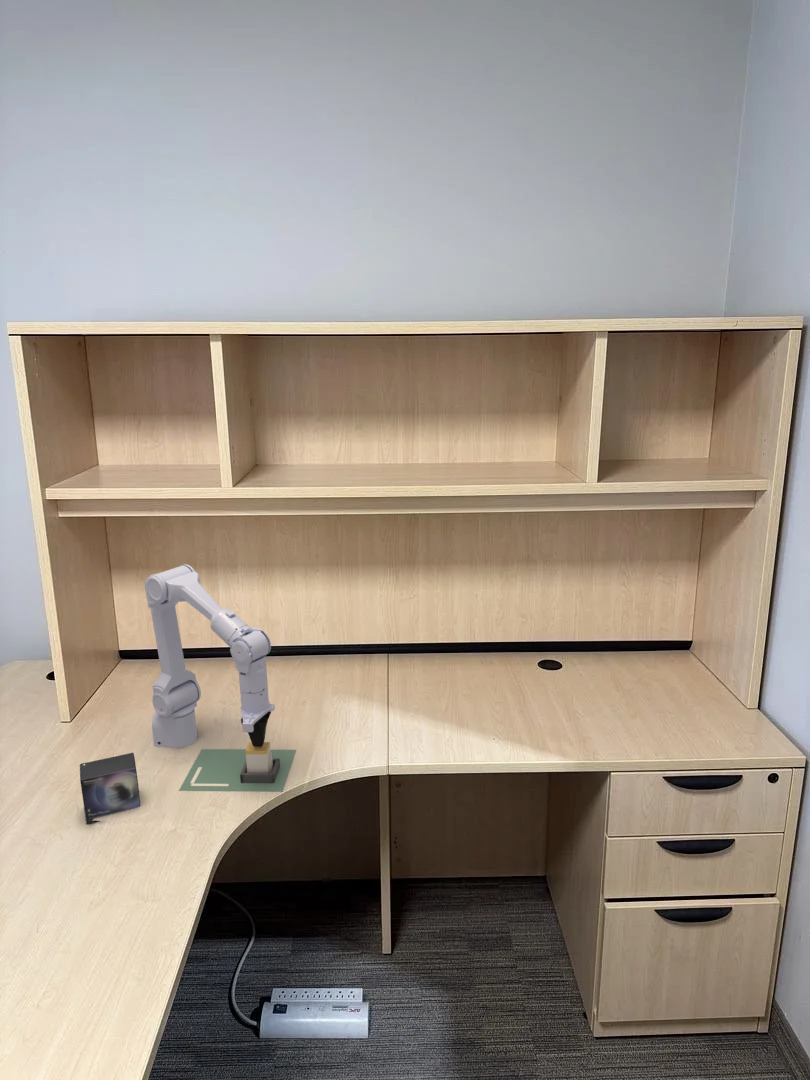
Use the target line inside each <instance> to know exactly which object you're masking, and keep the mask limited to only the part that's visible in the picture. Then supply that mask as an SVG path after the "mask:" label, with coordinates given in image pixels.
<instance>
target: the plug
mask: <svg viewBox="0 0 810 1080" xmlns="http://www.w3.org/2000/svg"><path fill="white" fill-rule="evenodd" d="M270 750H271V742H270V741H268V742H267V741H264V744H263V746H262V747H254V746H253V745H252V742H251V741H249V742H248V744H247V747H246V763H247V773H272V770H273V761H272V752H271V751H270Z"/></svg>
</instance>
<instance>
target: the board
mask: <svg viewBox="0 0 810 1080" xmlns="http://www.w3.org/2000/svg"><path fill="white" fill-rule="evenodd" d="M246 749H247V748H246ZM246 749H244V748H240V749H239V748H238V749H237V748H231V749H229V748H201V749H200V751H199V753H198V755H197V757H196V759H195V760H194V762H193V763H192V766H191V768H190V769H189V771H188V773H187V775H186V777H185V778H184V780H183V783H182V784H181V785H180V788H179V789H178V792H257V793H258V792H260V793H262V792H264V793H265V792H266V793H267V792H269V793H274V792H275V793H282V792H283V791H284V789H285V785H286V783H287V779H288V777H289V773H290V771H291V768H292V764H293V761H294V758H295V755H296V752H297V749H270V751H271V752H272V761H273V770H272V773H247V763H246Z"/></svg>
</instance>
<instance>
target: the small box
mask: <svg viewBox="0 0 810 1080" xmlns="http://www.w3.org/2000/svg"><path fill="white" fill-rule="evenodd" d="M137 772H138V771H137V765H136V758H135V754H134V752H130V753H125V754H121V755H116V756H111V757H106V758H103V759H98V760H93V761H88V762H82V763H80V764H79V782H80V787H81V795H82V801H83V808H84V810H83V811H84V815H85V823H86V825H89V824H93V823H97V822H99V820H94V819H97V818H100V817H104V816H109V815H113V814H117V813H121V812H122V813H123V812H126V811H130V810H133V809H137V808H140V807H141V799H140V797H141V796H140V790H139V789H140V788H139V780H138V774H137Z"/></svg>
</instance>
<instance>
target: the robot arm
mask: <svg viewBox="0 0 810 1080" xmlns="http://www.w3.org/2000/svg"><path fill="white" fill-rule="evenodd" d="M143 584H144V585H143V586H144V589H145V596H146V602H147V606H148V608H149V609H150V612H151V613H150V614H151V620H152V627H153V630H154V637H155V643H156V647H157V649H156V650H157V654H158V659H159V665H160V675H159V676H158V677H157V678H156V680H155V682H154V683H153V684H152V690H153V691H152V692H153V694H152V705H153V709H154V713H153V715H152V720H151V721H152V722H151V729H152V738H153V739H152V740H153V746H154V747H158V748H160V747H163V748H164V747H165V748H166V747H167V748H172V749H180V748H186V747H189V746H191V745H193V744H195V743H196V742H197V740H198V729H197V721H196V719H197V718H196V709H195V708H197V706H198V704H197V702H199V700H200V699H201V697H202V695H201V694H202V692H201V691H202V690H201V686H200V685H199V683H198V681H197V677H196V674H195V673H194V672H193V671H191V670H188V669H186V664H185V658H184V651H183V647H182V646H183V645H182V640H181V634H180V627H179V622H178V617H177V616H178V615H177V611H176V610H177V609H176V605H177V604H179V603H180V602H181V603H182V602H186V603H187V604H189V605H190V606H192V607H193V609H195V610H196V611H198V612H199V613H200V614H201V615H203V616H204V617H205V618H206V619H208V620H209V621H210V629H211V631H213V632H214V633H215V634H216V635H217V637H219V638H220V639H221V640H222V641H223V642H224V643H225V644H226V645H227V646H228V647H229V648H230V649H229V651H230V655H231V657H232V659H233V660H234V663H235V668H236V671H238V681H239V694H240V705H241V706H240V712H241V719H240V723H241V725H242V732H243V733H248V736H249V739H250V742H252V745H253V746H254V747H262V746H263V744H264V742H265V738H266V731H267V725H268V721H269V719H270V716H271V713H272V712H273V711H275V708H276V704H274V703H270V699H269V685H268V684H269V683H268V672H267V670H268V669H267V659H266V657H267V655H268V654H270V651H271V650H272V643H271V640H270V639H271V638H270V637H269V636H268V634H267V633H266V632H265V631H264V630H263V629H262V628H257V627H256V628H255V627H254V626H249V625H248V624H247V623H246V622H245V621H244V620H243V619H242V618H241V617H240V616H238V614H237V613H235V612H234V611H233V610H232V609H231V608H222V607H221V605H219V603H218V602H217V601H216V600H215V599H214V598H213V596H212V595H210V593H209V592H208V591H207V590H206V589H205V588H204V587H203V586H202V585H201V578H200V574H199V573H198V572H196V570H195V569H194V568H193V567H192V566H191V565H189V564H187V563H186V564H181V565H180V566H177V567H173V568H171V569H168V570H165V571H162V572H158V573H153V574H150V575H149V576H148V577H147V578H146V580H145V581H144V582H143Z"/></svg>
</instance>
